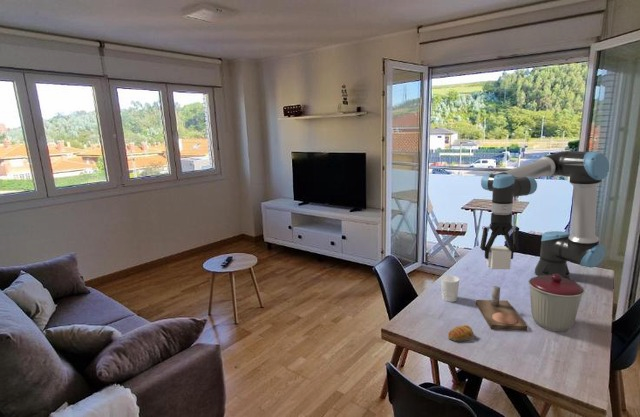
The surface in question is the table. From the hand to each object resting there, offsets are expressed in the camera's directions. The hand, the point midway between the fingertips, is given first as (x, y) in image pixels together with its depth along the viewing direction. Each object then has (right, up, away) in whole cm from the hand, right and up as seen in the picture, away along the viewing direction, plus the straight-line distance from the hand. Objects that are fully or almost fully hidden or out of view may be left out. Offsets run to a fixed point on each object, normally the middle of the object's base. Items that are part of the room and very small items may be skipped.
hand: (498, 265), depth 150 cm
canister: (+17, -22, -9) cm, 29 cm away
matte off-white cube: (0, 0, 0) cm, 0 cm away
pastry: (-21, -25, -14) cm, 36 cm away
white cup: (-15, -18, +15) cm, 28 cm away
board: (0, -21, -2) cm, 21 cm away
